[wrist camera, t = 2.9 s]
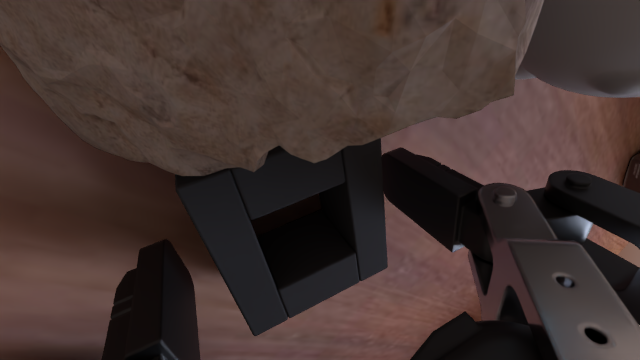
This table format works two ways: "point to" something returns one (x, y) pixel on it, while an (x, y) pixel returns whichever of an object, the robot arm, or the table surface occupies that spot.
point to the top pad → (291, 229)
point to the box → (633, 175)
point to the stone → (261, 71)
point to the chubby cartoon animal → (586, 47)
